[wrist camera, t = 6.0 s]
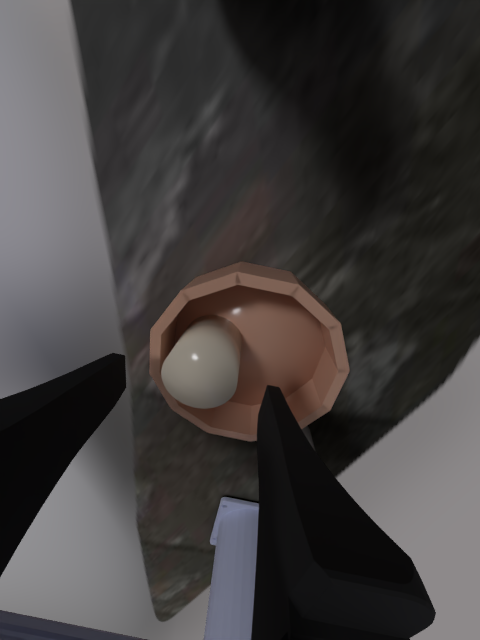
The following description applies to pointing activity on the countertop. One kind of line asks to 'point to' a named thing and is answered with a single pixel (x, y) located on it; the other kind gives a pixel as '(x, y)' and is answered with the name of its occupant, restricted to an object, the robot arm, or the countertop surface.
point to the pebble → (204, 363)
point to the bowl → (259, 345)
